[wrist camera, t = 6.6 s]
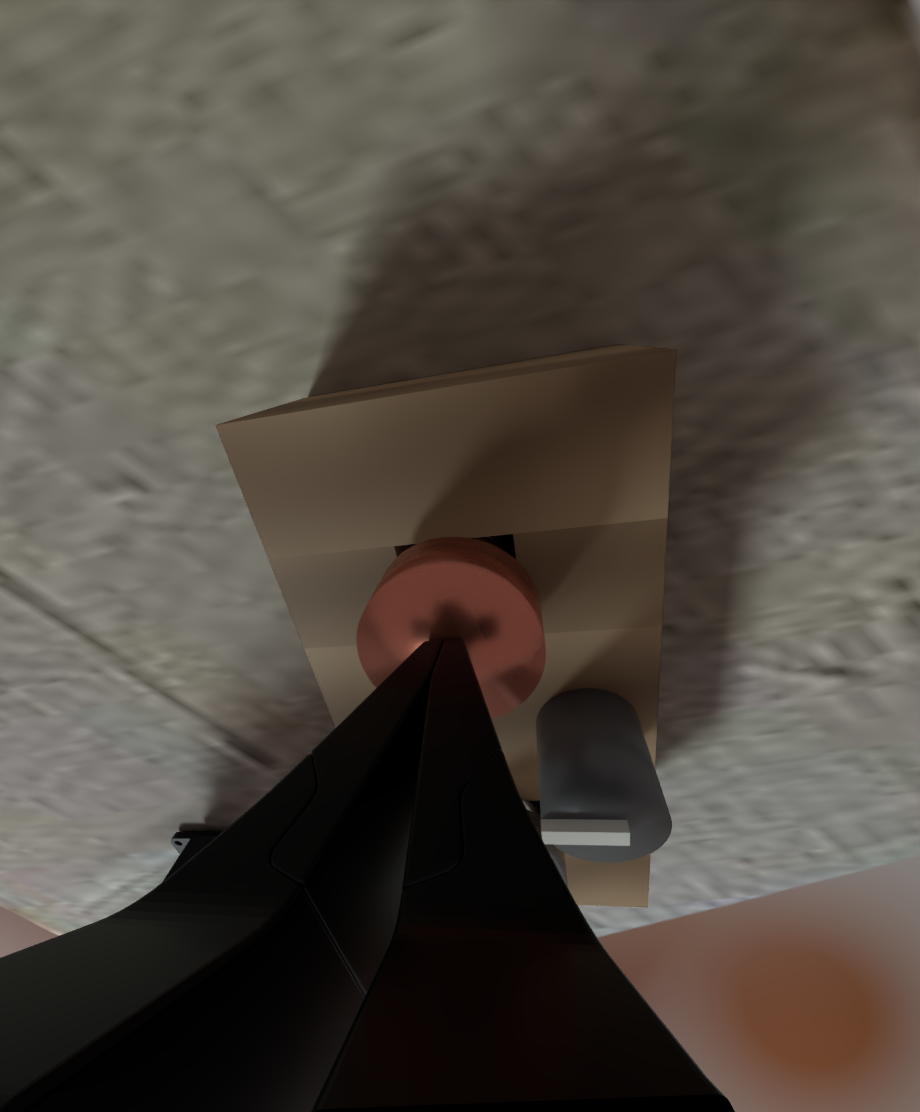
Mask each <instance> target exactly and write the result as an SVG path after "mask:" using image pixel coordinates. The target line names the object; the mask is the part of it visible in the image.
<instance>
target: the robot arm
mask: <svg viewBox="0 0 920 1112" xmlns="http://www.w3.org/2000/svg"><path fill="white" fill-rule="evenodd" d="M171 843H172V845H173V846H174V847H175V849H176V850H177V851H178V853H179V854H180V855H179V857H178V859H177V860H176V862H175V863H174V865H173V866H172V868H171V869H170V871H169V873H168V874H167V876H166V877H165V879H164V880H163V882H162V883H161V884H160V885H158V886H157V887H156V888H155V889H153V890H152V891H151V892H149V893H148V894H146V895H145V896H144V897H142V898H141V899H139V900H138V901H136V902H135V903H133V904H131V905H130V906H128V907H126V908H124V909H123V910H121V911H119V912H117V913H115V914H113V915H111V916H109V917H107V918H104V919H102V920H100V921H97V922H95V923H92V924H89V925H87V926H84V927H81V928H79V929H76V930H73V931H71V932H68V933H65V934H63V935H60V936H58V937H55V938H52V939H49V940H47V941H44V942H42V943H39V944H36V945H34V946H31V947H28V948H25V949H23V950H20V951H17V952H15V953H12V954H10V955H7V956H4V957H1V958H0V1112H735V1111H734V1109H733V1108H732V1106H731V1104H730V1102H729V1100H728V1099H727V1098H726V1097H725V1096H724V1095H723V1094H722V1093H721V1092H720V1091H719V1090H718V1089H717V1087H716V1086H715V1085H714V1084H713V1083H712V1082H711V1081H710V1080H709V1079H708V1078H707V1077H706V1075H705V1074H704V1073H703V1072H702V1070H701V1069H700V1068H699V1067H698V1065H697V1064H696V1063H695V1062H694V1060H693V1059H692V1058H691V1057H690V1055H689V1054H688V1053H687V1052H686V1050H685V1049H684V1048H683V1047H682V1045H681V1044H680V1043H679V1042H678V1040H677V1039H676V1038H675V1037H674V1036H673V1034H672V1033H671V1032H670V1030H669V1029H668V1028H667V1027H666V1025H665V1024H664V1023H663V1022H662V1021H661V1019H660V1018H659V1017H658V1015H657V1014H656V1013H655V1012H654V1010H653V1009H652V1008H651V1007H650V1006H649V1004H648V1003H647V1002H646V1000H645V999H644V998H643V997H642V995H641V994H640V993H639V992H638V991H637V989H636V988H635V987H634V985H633V984H632V983H631V982H630V980H629V979H628V978H627V977H626V975H625V974H624V973H623V972H622V970H620V968H619V967H618V966H617V964H616V963H615V962H614V960H613V959H612V958H611V957H610V955H609V954H608V953H607V952H606V950H605V949H604V948H603V946H602V945H601V943H600V942H599V940H598V939H597V937H596V936H595V934H594V932H593V931H592V929H591V928H590V926H589V924H588V923H587V921H586V919H585V918H584V916H583V914H582V913H581V911H580V909H579V907H578V905H577V904H576V902H575V900H574V898H573V897H572V895H571V893H570V891H569V889H568V887H567V885H566V883H565V882H564V880H563V878H562V876H561V874H560V872H559V870H558V868H557V867H556V865H555V863H554V861H553V859H552V857H551V855H550V853H549V852H548V850H547V848H546V846H545V844H544V842H543V840H542V838H541V837H540V835H539V833H538V831H537V829H536V827H535V825H534V823H533V821H532V819H531V817H530V815H529V813H528V811H527V809H526V807H525V805H524V803H523V801H522V799H521V797H520V795H519V792H518V790H517V787H516V785H515V782H514V780H513V777H512V775H511V772H510V770H509V767H508V764H507V761H506V758H505V755H504V753H503V752H502V747H501V745H500V742H499V739H498V736H497V733H496V730H495V727H494V725H493V722H492V719H491V716H490V713H489V710H488V707H487V705H486V702H485V699H484V696H483V693H482V690H481V687H480V685H479V682H478V679H477V676H476V673H475V670H474V667H473V665H472V662H471V659H470V656H469V653H468V650H467V647H466V645H465V642H464V640H463V639H448V640H445V641H444V642H443V641H442V640H432V641H425V642H423V643H422V644H421V645H420V646H419V647H418V648H417V649H416V650H415V651H414V652H413V653H412V654H411V655H410V656H409V657H407V658H406V659H405V660H404V661H403V662H402V663H401V664H400V665H399V666H398V667H397V668H396V669H395V670H394V671H393V672H392V673H391V674H390V675H389V676H388V677H387V678H386V679H385V680H384V681H383V682H382V683H381V684H380V685H379V686H378V687H377V688H376V689H375V690H374V691H373V692H372V693H371V694H370V695H369V696H368V697H367V698H366V699H365V700H364V701H363V702H362V703H360V704H359V705H358V706H357V707H356V708H355V709H354V710H353V711H352V712H351V713H350V714H349V715H348V716H347V717H346V718H345V719H344V720H343V721H342V722H341V723H340V724H339V725H338V726H337V727H336V728H335V729H334V730H333V731H332V732H331V733H330V734H329V735H328V736H327V737H326V738H325V739H324V740H323V741H322V742H321V743H320V744H319V745H318V746H317V747H316V748H315V749H313V750H312V755H311V754H309V755H307V756H306V757H305V758H304V759H303V760H302V761H301V762H300V763H299V764H298V765H297V766H296V767H295V768H294V769H293V770H292V771H291V772H290V773H289V774H288V775H286V776H285V777H284V778H283V779H282V780H281V781H280V782H279V783H278V784H277V785H276V786H275V787H274V788H273V789H272V790H270V791H269V792H268V793H267V794H266V795H265V796H264V797H263V798H261V799H260V800H259V801H258V802H257V803H256V804H255V805H253V806H252V807H251V808H250V809H249V810H248V811H247V812H245V813H244V814H243V815H242V816H241V817H240V818H238V819H237V820H236V821H235V822H234V823H233V824H231V825H230V826H229V827H228V828H227V829H225V830H224V831H223V832H222V833H214V832H176V833H175V835H174V836H173V837H172V839H171Z"/></svg>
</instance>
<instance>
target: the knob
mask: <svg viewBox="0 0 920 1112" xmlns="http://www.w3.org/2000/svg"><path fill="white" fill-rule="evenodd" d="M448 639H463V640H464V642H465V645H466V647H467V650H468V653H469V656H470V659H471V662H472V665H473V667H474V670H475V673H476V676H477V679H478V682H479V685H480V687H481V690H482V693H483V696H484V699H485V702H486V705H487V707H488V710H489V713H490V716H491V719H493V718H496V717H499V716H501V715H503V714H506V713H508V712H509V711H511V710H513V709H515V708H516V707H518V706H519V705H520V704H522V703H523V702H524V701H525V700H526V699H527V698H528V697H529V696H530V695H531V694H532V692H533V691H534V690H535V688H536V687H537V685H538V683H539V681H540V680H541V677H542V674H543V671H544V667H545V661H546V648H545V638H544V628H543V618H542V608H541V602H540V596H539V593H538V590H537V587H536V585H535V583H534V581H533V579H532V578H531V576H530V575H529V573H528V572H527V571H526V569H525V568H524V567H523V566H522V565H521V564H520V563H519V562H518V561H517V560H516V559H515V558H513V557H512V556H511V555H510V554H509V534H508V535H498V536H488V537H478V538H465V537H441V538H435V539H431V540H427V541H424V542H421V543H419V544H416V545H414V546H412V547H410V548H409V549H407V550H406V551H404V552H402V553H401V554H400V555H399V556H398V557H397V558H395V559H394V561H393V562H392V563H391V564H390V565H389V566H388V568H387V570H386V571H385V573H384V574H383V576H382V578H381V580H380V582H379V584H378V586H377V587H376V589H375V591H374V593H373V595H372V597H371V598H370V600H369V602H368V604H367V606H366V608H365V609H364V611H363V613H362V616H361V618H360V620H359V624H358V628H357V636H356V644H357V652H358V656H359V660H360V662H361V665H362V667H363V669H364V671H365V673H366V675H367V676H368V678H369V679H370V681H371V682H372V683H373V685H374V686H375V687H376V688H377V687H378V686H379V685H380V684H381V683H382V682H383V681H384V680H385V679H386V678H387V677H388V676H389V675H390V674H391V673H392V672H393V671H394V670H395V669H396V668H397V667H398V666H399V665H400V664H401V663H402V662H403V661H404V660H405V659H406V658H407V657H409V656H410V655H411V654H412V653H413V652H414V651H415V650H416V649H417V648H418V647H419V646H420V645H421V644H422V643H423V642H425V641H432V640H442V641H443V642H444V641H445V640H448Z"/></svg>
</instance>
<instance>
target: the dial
mask: <svg viewBox="0 0 920 1112" xmlns="http://www.w3.org/2000/svg"><path fill="white" fill-rule="evenodd" d="M536 738H537V756H538V774H539V792H540V810H541V834H542V840H543V842H544V844H553V845H554V846H555V847H556V848H558V849H559V850H561V851H562V852H564V853H566V854H568V855H571V856H573V857H576V858H579V859H583V860H587V861H593V862H604V863H614V862H624V861H630V860H634V859H638V858H641V857H644V856H646V855H648V854H650V853H652V852H654V851H655V850H657V849H658V848H660V847H661V846H662V845H663V844H664V843H665V842H666V840H667V839H668V837H669V835H670V833H671V829H672V821H671V817H670V814H669V810H668V807H667V804H666V801H665V798H664V795H663V792H662V789H661V786H660V783H659V780H658V777H657V774H656V770H655V767H654V764H653V761H652V758H651V755H650V752H649V749H648V746H647V743H646V740H645V737H644V733H643V730H642V727H641V724H640V721H639V718H638V715H637V713H636V711H635V709H634V708H633V706H632V705H631V704H630V703H629V702H628V701H627V700H625V699H624V698H622V697H621V696H619V695H617V694H615V693H613V692H610V691H606V690H602V689H595V688H580V689H574V690H569V691H566V692H563V693H561V694H558V695H556V696H555V697H553V698H551V699H550V700H549V701H547V702H546V703H545V704H544V705H543V707H542V708H541V709H540V711H539V713H538V715H537V718H536Z"/></svg>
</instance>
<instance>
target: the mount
mask: <svg viewBox="0 0 920 1112" xmlns="http://www.w3.org/2000/svg"><path fill="white" fill-rule="evenodd" d="M675 364H676V349H666V348H655V347H644V346H633V345H623V344H618V345H613V346H607V347H601V348H595V349H589V350H583V351H577V352H571V353H565V354H559V355H554V356H548V357H542V358H536V359H530V360H524V361H518V362H512V363H506V364H501V365H495V366H489V367H483V368H477V369H471V370H465V371H459V372H453V373H448V374H442V375H436V376H430V377H424V378H418V379H412V380H406V381H400V382H395V383H389V384H383V385H377V386H371V387H365V388H359V389H353V390H347V391H342V392H336V393H330V394H324V395H318V396H312V397H306V398H303V399H300V400H297V401H293V402H290V403H287V404H283V405H280V406H277V407H274V408H270V409H267V410H264V411H260V412H257V413H254V414H251V415H247V416H244V417H241V418H237V419H234V420H231V421H227V422H224V423H221V424H218V425H215V426H216V428H217V431H218V433H219V436H220V438H221V441H222V443H223V446H224V448H225V451H226V453H227V456H228V459H229V461H230V464H231V466H232V469H233V471H234V474H235V476H236V479H237V481H238V484H239V486H240V489H241V491H242V494H243V496H244V499H245V501H246V504H247V506H248V509H249V511H250V514H251V516H252V519H253V521H254V524H255V526H256V529H257V531H258V534H259V536H260V539H261V541H262V544H263V546H264V549H265V552H266V554H267V557H268V559H269V562H270V564H271V567H272V569H273V572H274V574H275V577H276V579H277V582H278V584H279V587H280V589H281V592H282V594H283V597H284V599H285V602H286V604H287V607H288V609H289V612H290V614H291V617H292V619H293V622H294V624H295V627H296V629H297V632H298V634H299V637H300V639H301V642H302V645H303V647H304V650H305V652H306V655H307V657H308V660H309V662H310V665H311V667H312V670H313V672H314V675H315V677H316V680H317V682H318V685H319V687H320V690H321V692H322V695H323V697H324V700H325V702H326V705H327V707H328V710H329V712H330V715H331V717H332V720H333V722H334V725H335V727H337V726H338V725H339V724H340V723H341V722H342V721H343V720H344V719H345V718H346V717H347V716H348V715H349V714H350V713H351V712H352V711H353V710H354V709H355V708H356V707H357V706H358V705H359V704H360V703H362V702H363V701H364V700H365V699H366V698H367V697H368V696H369V695H370V694H371V693H372V692H373V691H374V690H375V689H376V687H375V686H374V685H373V683H372V682H371V681H370V679H369V678H368V676H367V675H366V673H365V671H364V669H363V667H362V665H361V662H360V660H359V656H358V652H357V644H356V636H357V628H358V624H359V620H360V618H361V616H362V613H363V611H364V609H365V608H366V606H367V604H368V602H369V600H370V598H371V597H372V595H373V593H374V591H375V589H376V587H377V586H378V584H379V582H380V580H381V578H382V576H383V574H384V573H385V571H386V570H387V568H388V566H389V565H390V564H391V563H392V562H393V561H394V559H395V558H397V557H398V556H399V555H400V554H401V553H402V552H404V551H406V550H407V549H409V548H410V547H412V546H414V545H416V544H419V543H421V542H424V541H427V540H431V539H435V538H441V537H465V538H478V537H488V536H498V535H508V534H513V537H514V546H515V553H511V554H510V555H511V556H512V557H513V558H515V559H516V560H517V561H518V562H519V563H520V564H521V565H522V566H523V567H524V568H525V569H526V571H527V572H528V573H529V575H530V576H531V578H532V579H533V581H534V583H535V585H536V587H537V590H538V593H539V596H540V602H541V608H542V618H543V628H544V638H545V648H546V661H545V667H544V671H543V674H542V677H541V680H540V681H539V683H538V685H537V687H536V688H535V690H534V691H533V692H532V694H531V695H530V696H529V697H528V698H527V699H526V700H525V701H524V702H523V703H522V704H520V705H519V706H518V707H516V708H515V709H513V710H511V711H509V712H508V713H506V714H503V715H501V716H499V717H496V718H493V719H492V722H493V725H494V727H495V730H496V733H497V736H498V739H499V742H500V745H501V747H502V752H503V753H504V755H505V758H506V761H507V764H508V767H509V770H510V772H511V775H512V777H513V780H514V782H515V785H516V787H517V790H518V792H519V795H520V797H521V799H522V801H538V813H539V815H541V810H540V792H539V774H538V756H537V738H536V718H537V715H538V713H539V711H540V709H541V708H542V707H543V705H544V704H545V703H546V702H547V701H549V700H550V699H551V698H553V697H555V696H556V695H558V694H561V693H563V692H566V691H569V690H574V689H580V688H595V689H602V690H606V691H610V692H613V693H615V694H617V695H619V696H621V697H622V698H624V699H625V700H627V701H628V702H629V703H630V704H631V705H632V706H633V708H634V709H635V711H636V713H637V715H638V718H639V721H640V724H641V727H642V730H643V733H644V737H645V740H646V743H647V746H648V749H649V752H650V755H651V758H652V761H653V764H654V767H655V755H656V736H657V716H658V697H659V677H660V657H661V638H662V618H663V599H664V579H665V560H666V540H667V521H668V501H669V481H670V462H671V442H672V423H673V403H674V384H675ZM565 863H566V873H567V883H568V889H569V891H570V893H571V895H572V897H573V898H574V900H575V902H576V904H577V905H600V906H624V907H648V892H649V873H650V854H648V855H646V856H644V857H641V858H638V859H634V860H630V861H624V862H614V863H604V862H593V861H587V860H583V859H579V858H576V857H573V856H571V855H568V854H566V853H565Z"/></svg>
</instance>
